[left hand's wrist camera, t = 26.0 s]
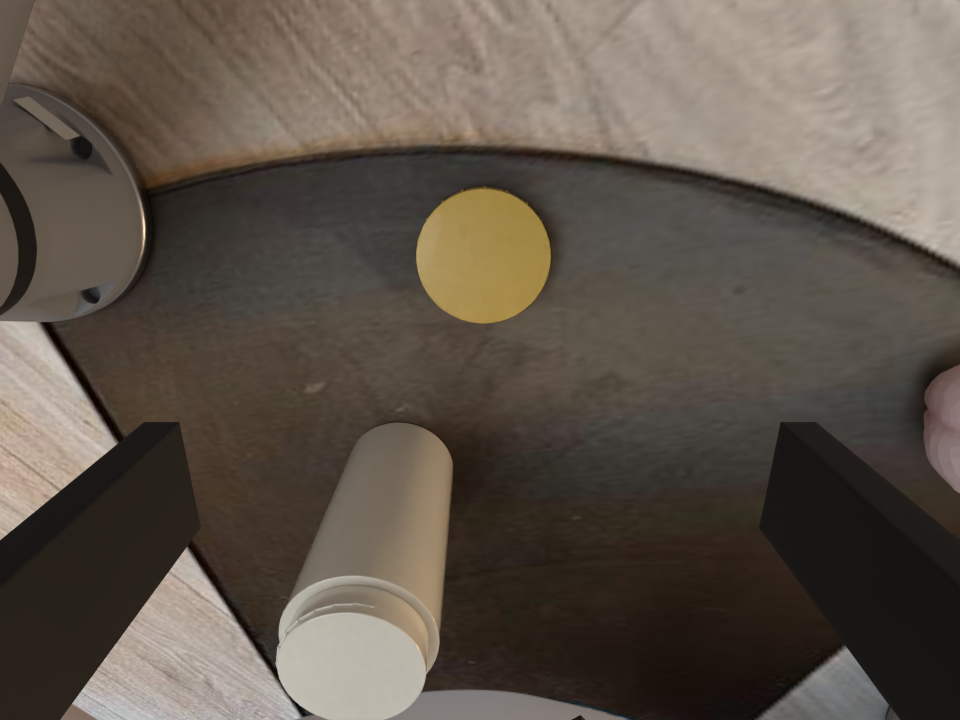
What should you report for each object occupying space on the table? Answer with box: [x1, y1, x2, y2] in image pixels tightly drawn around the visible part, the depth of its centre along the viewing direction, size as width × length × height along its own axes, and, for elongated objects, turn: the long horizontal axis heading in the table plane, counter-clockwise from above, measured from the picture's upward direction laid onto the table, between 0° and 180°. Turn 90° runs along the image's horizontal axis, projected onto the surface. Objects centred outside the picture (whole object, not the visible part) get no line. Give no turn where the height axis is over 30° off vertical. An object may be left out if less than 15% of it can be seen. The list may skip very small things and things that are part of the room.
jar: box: [276, 423, 453, 720], centre depth 38 cm, size 8×8×19 cm
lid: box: [416, 186, 551, 323], centre depth 39 cm, size 9×9×2 cm
